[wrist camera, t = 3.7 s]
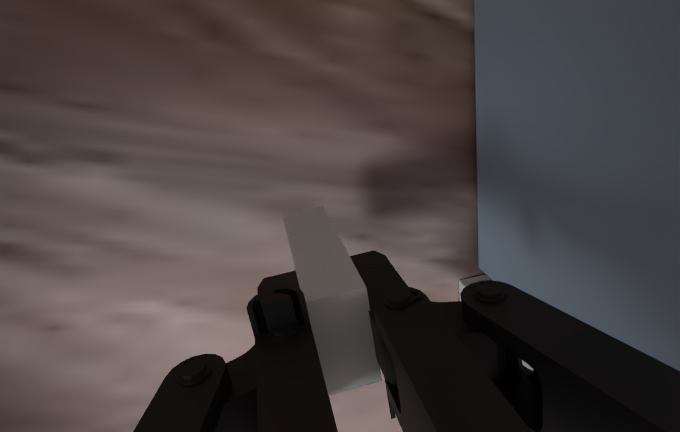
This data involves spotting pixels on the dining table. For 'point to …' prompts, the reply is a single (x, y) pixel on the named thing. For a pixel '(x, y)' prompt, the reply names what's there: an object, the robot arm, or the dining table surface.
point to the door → (583, 160)
